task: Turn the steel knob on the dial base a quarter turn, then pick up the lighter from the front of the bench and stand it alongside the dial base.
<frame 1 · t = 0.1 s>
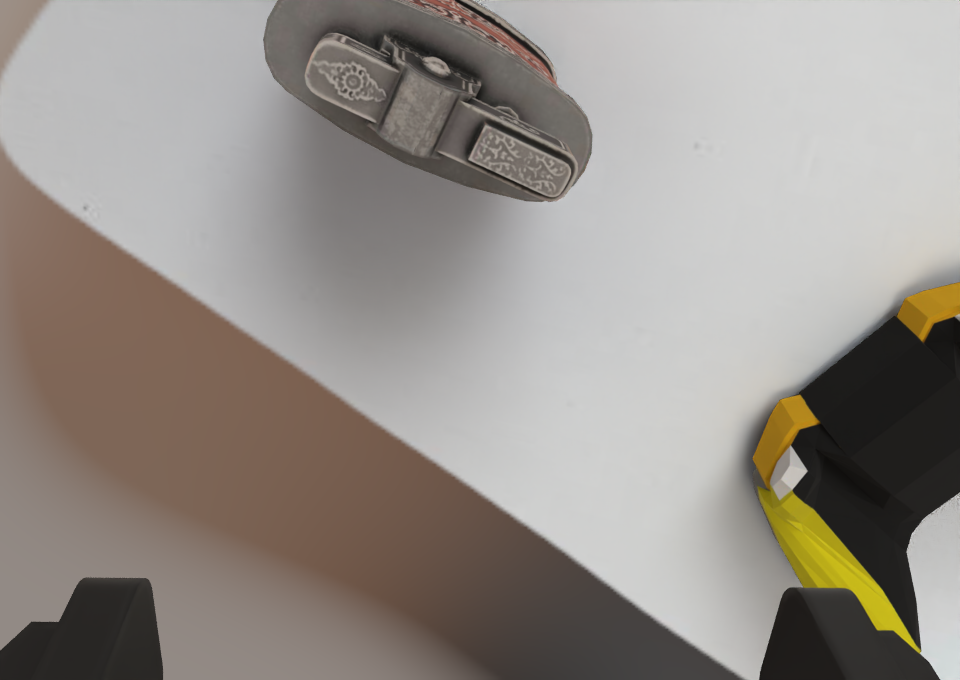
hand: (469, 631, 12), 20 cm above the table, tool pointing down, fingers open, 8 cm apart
gaming controller: (907, 415, 35), on the table
lighter: (431, 41, 28), on the table
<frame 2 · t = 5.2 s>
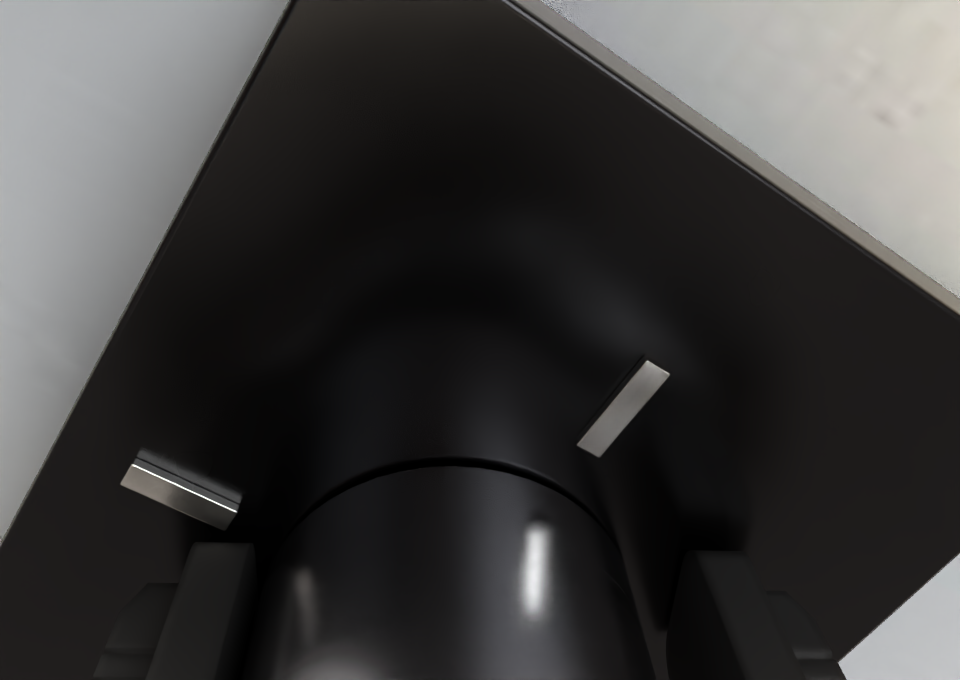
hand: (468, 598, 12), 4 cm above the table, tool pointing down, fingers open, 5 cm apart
dial base: (444, 462, 15), on the table
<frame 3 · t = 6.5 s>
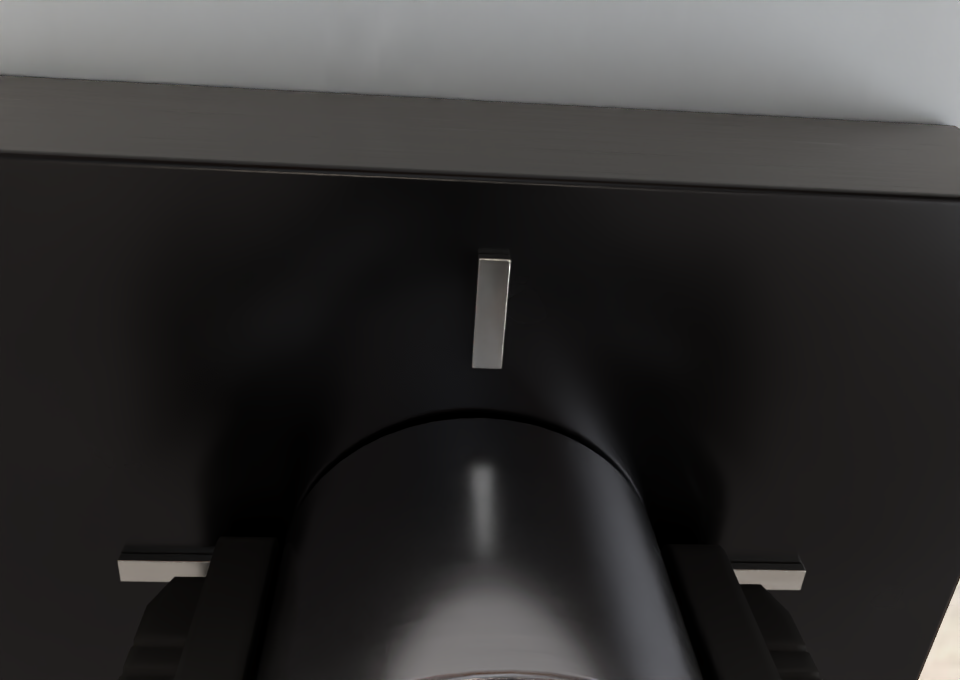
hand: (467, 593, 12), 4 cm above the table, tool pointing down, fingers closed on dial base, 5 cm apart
dial base: (462, 425, 15), on the table
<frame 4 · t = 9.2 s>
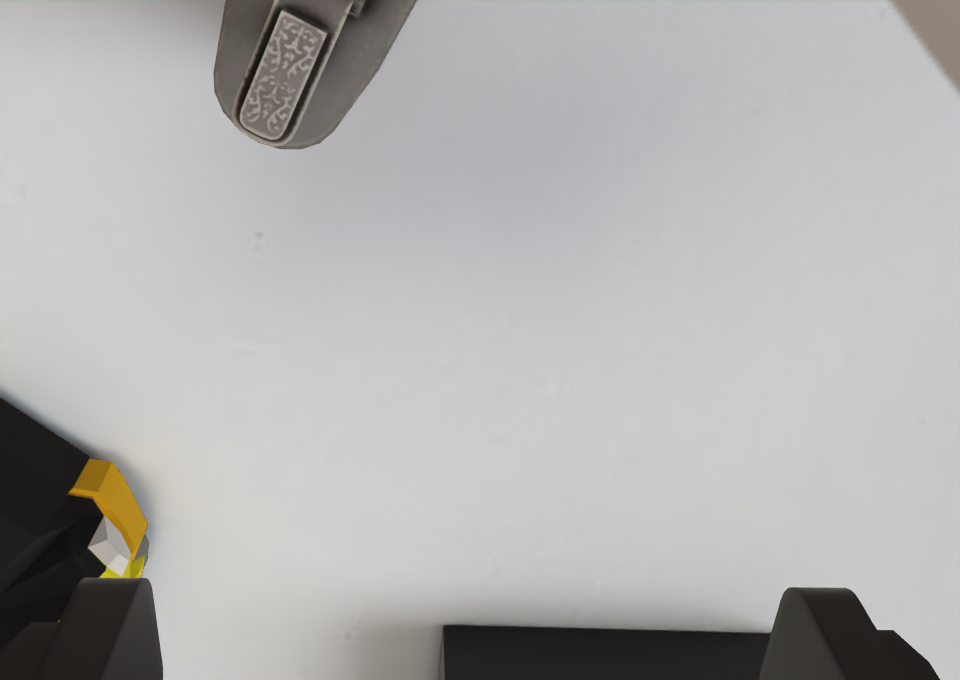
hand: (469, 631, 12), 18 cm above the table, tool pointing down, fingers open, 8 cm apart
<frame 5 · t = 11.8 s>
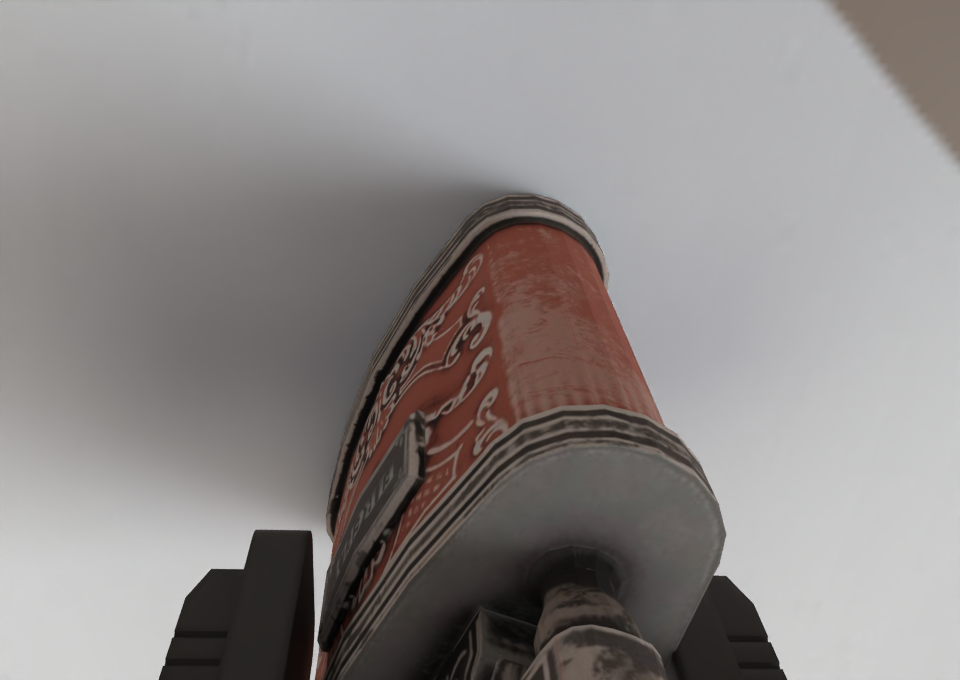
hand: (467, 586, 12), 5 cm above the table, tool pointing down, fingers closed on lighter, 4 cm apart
lighter: (456, 382, 17), on the table, touching gripper
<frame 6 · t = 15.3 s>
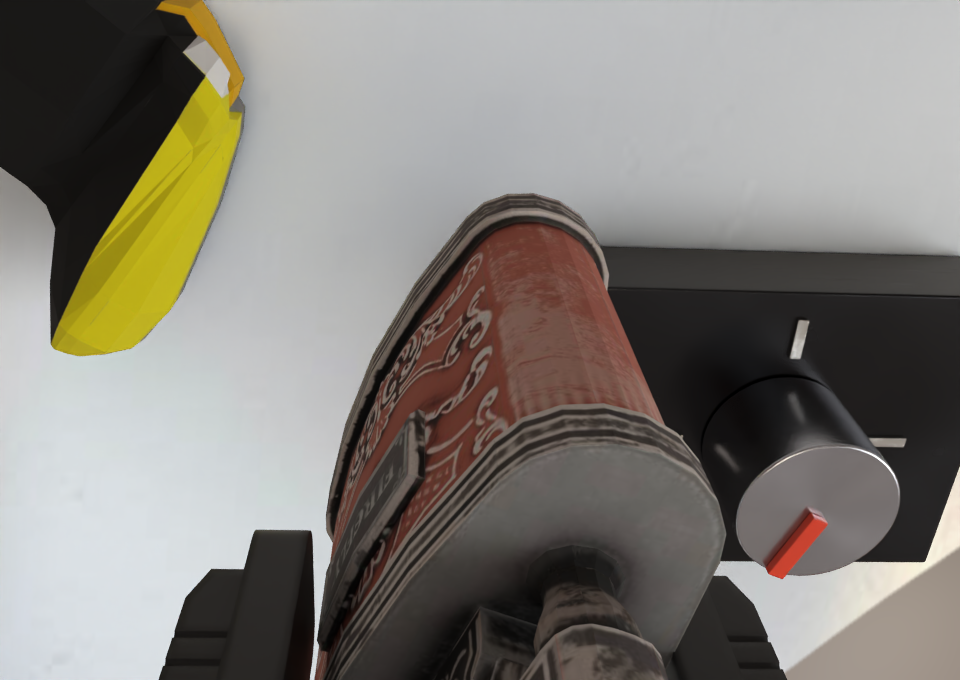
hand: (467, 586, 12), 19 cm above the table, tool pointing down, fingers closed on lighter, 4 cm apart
hob knob: (796, 477, 29), point 6 cm above the table, hinge at 66.4°
gaming controller: (35, 58, 27), on the table
lighter: (456, 381, 17), point 14 cm above the table, touching gripper
dial base: (742, 386, 34), on the table
when the fingers open (5 cm above the table, at t = 19.1 s): lighter stays where it is, on the table.
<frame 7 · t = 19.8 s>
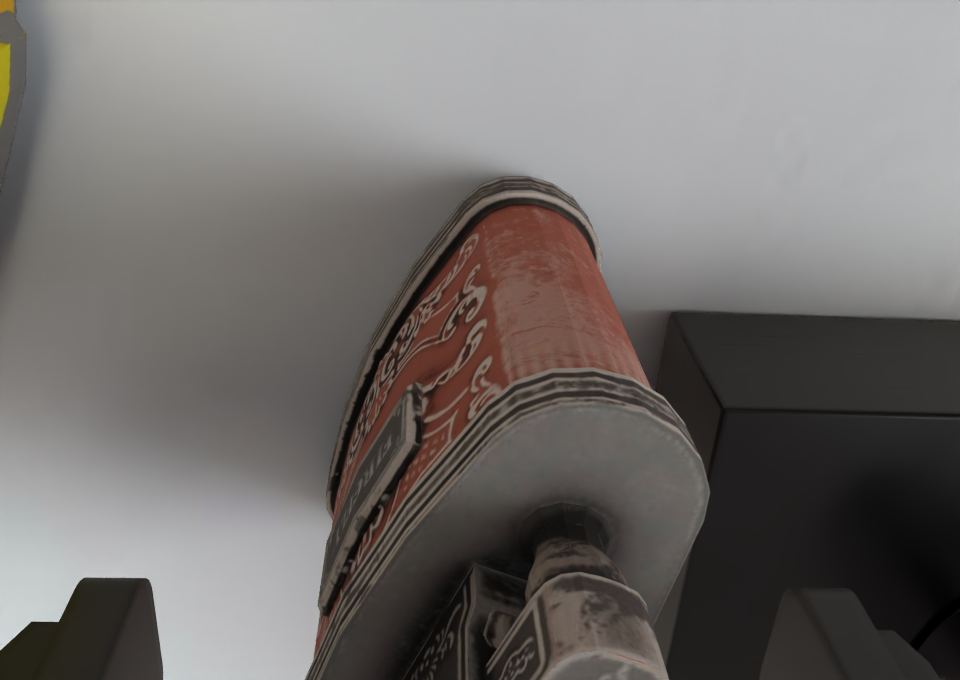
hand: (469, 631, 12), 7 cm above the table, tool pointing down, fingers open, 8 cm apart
lighter: (453, 362, 17), on the table
dial base: (937, 543, 20), on the table
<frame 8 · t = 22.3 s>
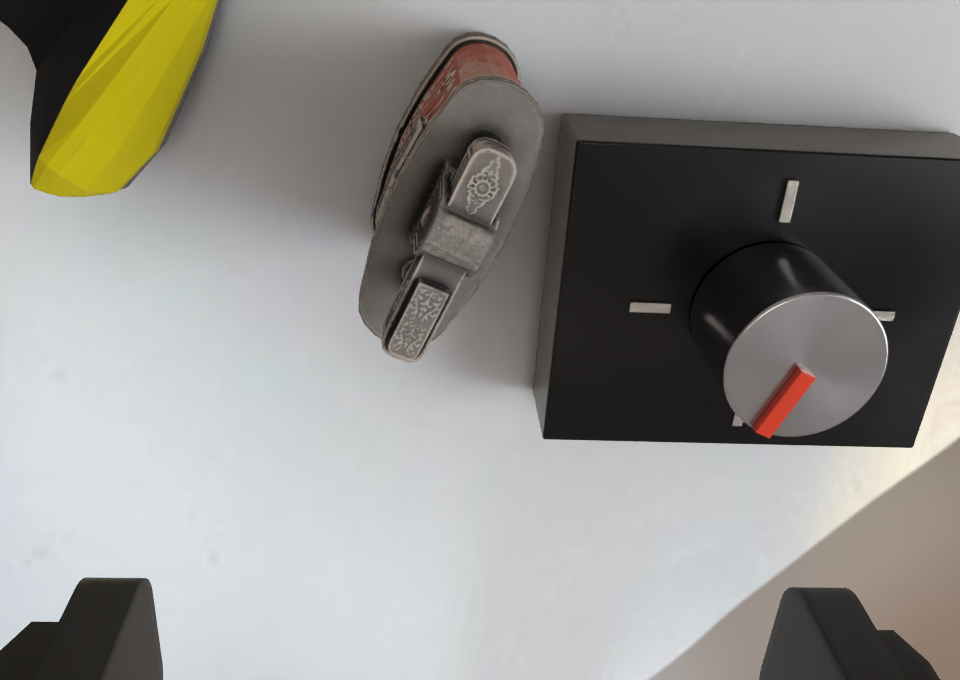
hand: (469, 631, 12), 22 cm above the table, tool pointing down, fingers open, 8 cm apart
hob knob: (784, 340, 29), point 6 cm above the table, hinge at 66.4°
lighter: (442, 145, 31), on the table
dial base: (731, 269, 34), on the table
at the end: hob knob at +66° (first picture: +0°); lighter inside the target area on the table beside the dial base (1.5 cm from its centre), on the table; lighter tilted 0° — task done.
